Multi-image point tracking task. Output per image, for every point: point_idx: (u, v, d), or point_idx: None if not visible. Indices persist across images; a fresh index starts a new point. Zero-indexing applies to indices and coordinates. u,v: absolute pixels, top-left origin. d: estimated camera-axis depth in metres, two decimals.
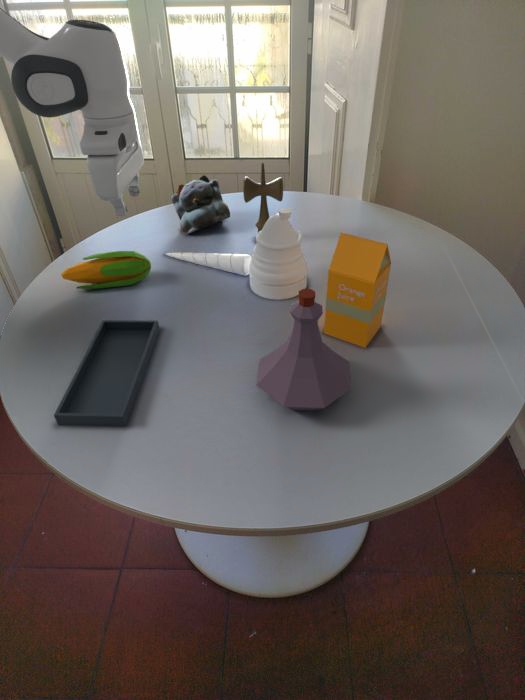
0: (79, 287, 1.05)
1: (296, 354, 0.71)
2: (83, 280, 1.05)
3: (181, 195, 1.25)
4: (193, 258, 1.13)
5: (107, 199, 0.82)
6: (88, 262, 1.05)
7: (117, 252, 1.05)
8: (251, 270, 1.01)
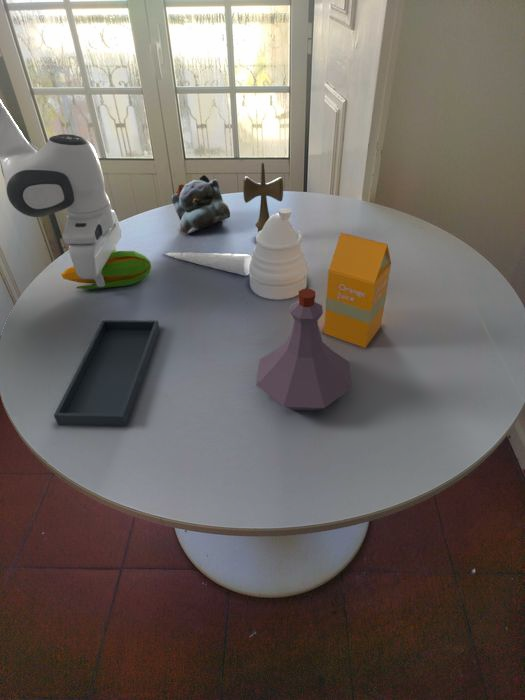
0: (79, 287, 1.05)
1: (296, 354, 0.71)
2: (83, 280, 1.05)
3: (181, 195, 1.25)
4: (193, 258, 1.13)
5: (87, 278, 0.96)
6: None
7: (117, 252, 1.05)
8: (251, 270, 1.01)
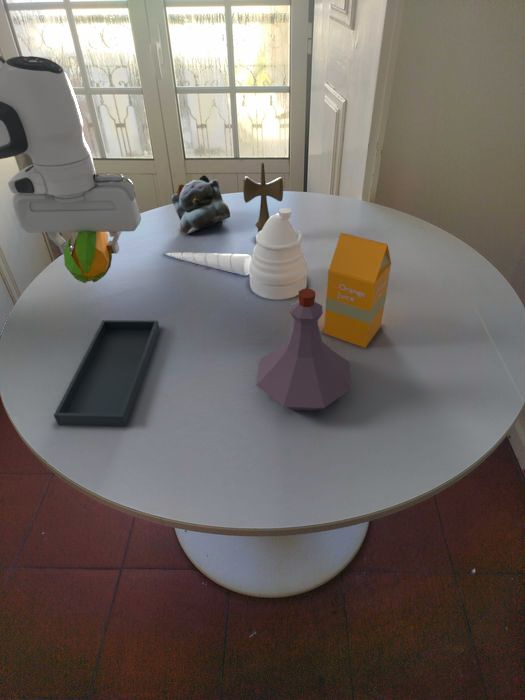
0: None
1: (296, 354, 0.71)
2: None
3: (181, 195, 1.25)
4: (193, 258, 1.13)
5: None
6: None
7: (85, 234, 0.79)
8: (251, 270, 1.01)
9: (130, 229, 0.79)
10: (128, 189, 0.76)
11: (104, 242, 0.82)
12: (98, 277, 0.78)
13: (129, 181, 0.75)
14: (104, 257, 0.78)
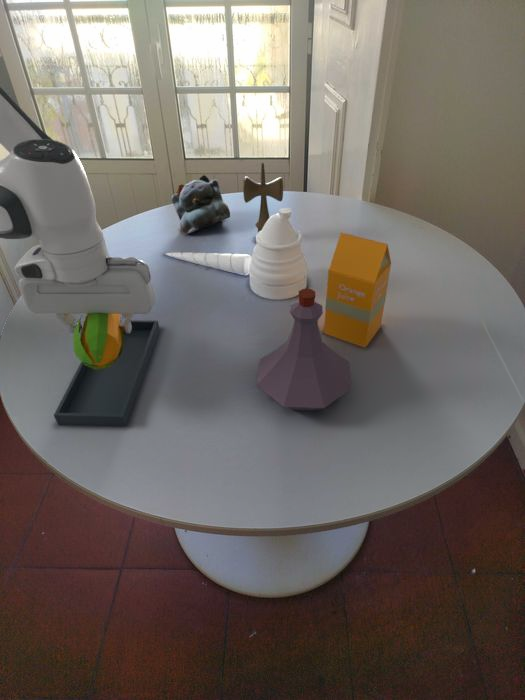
0: None
1: (296, 354, 0.71)
2: None
3: (181, 195, 1.25)
4: (193, 258, 1.13)
5: None
6: None
7: (96, 318, 0.73)
8: (251, 270, 1.01)
9: (144, 312, 0.74)
10: (143, 272, 0.70)
11: (116, 322, 0.77)
12: (110, 365, 0.72)
13: (144, 265, 0.70)
14: (116, 342, 0.73)
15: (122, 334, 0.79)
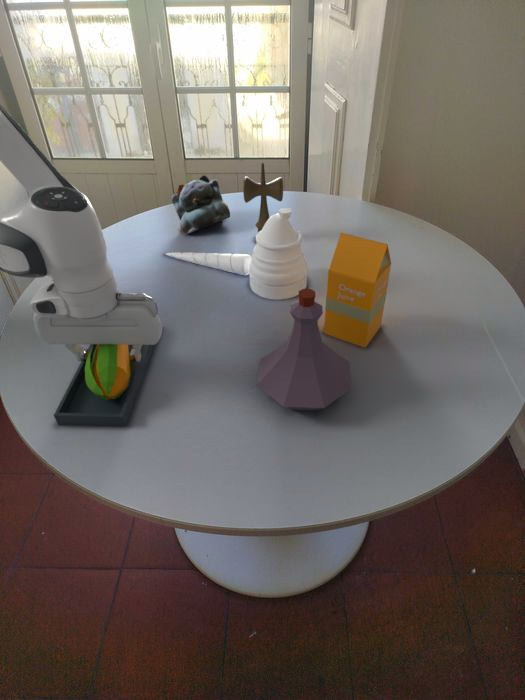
0: None
1: (296, 354, 0.71)
2: None
3: (181, 195, 1.25)
4: (193, 258, 1.13)
5: None
6: None
7: (106, 350, 0.77)
8: (251, 270, 1.01)
9: (152, 343, 0.78)
10: (151, 307, 0.75)
11: (125, 353, 0.81)
12: (119, 395, 0.77)
13: (152, 300, 0.74)
14: (125, 374, 0.77)
15: (130, 363, 0.84)
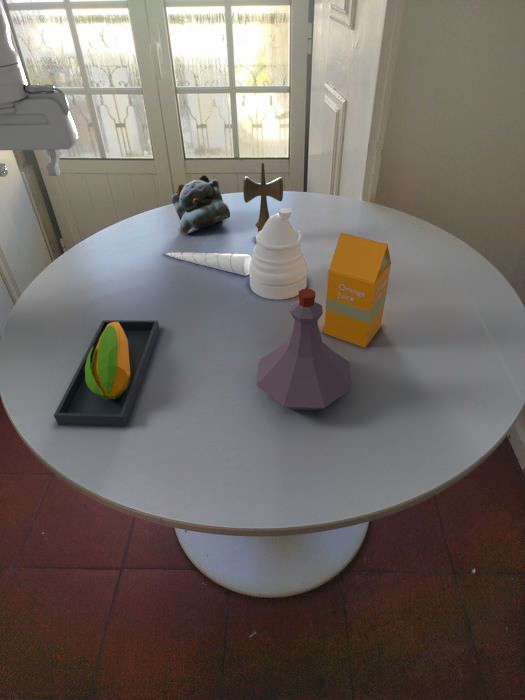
0: None
1: (296, 354, 0.71)
2: None
3: (181, 195, 1.25)
4: (193, 258, 1.13)
5: None
6: None
7: (106, 350, 0.77)
8: (251, 270, 1.01)
9: (65, 146, 0.76)
10: (60, 101, 0.73)
11: (125, 353, 0.81)
12: (119, 395, 0.77)
13: (61, 92, 0.72)
14: (125, 374, 0.77)
15: (130, 363, 0.84)
